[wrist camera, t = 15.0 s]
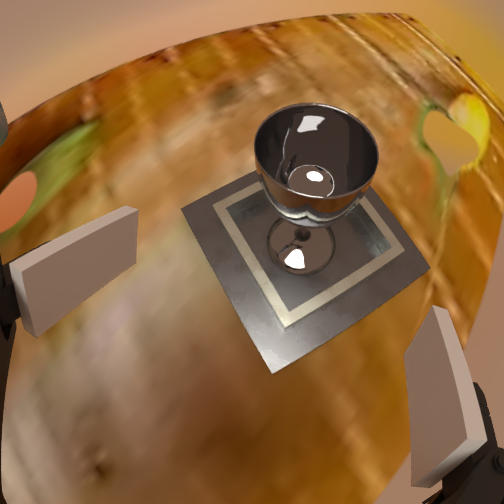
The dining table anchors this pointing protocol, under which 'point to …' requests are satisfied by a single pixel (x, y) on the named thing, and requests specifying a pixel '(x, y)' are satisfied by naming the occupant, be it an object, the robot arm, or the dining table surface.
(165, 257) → the dining table surface
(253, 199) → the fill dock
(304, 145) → the wine glass
